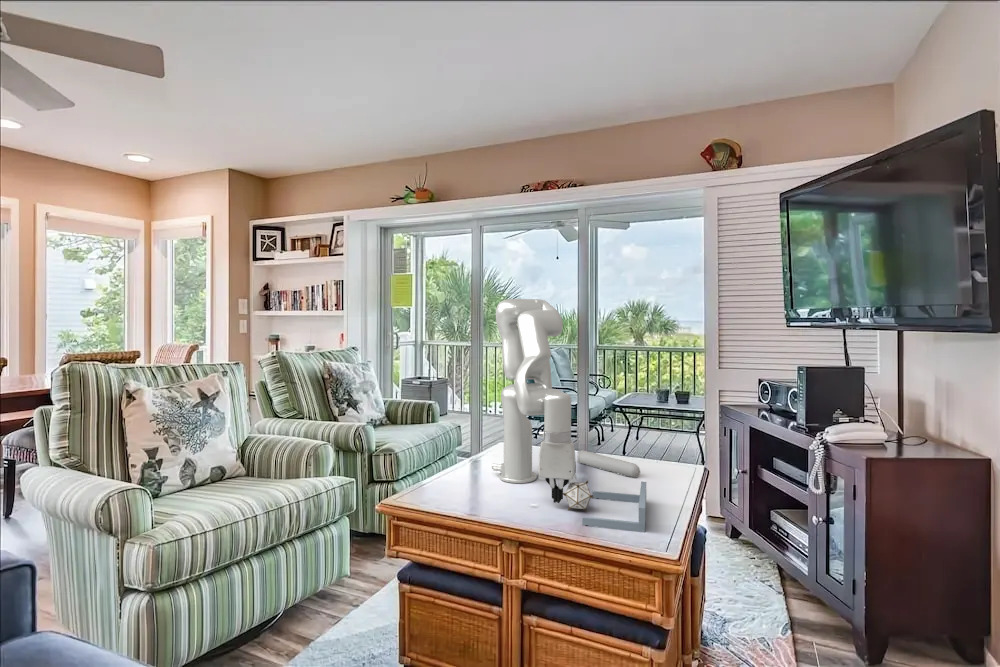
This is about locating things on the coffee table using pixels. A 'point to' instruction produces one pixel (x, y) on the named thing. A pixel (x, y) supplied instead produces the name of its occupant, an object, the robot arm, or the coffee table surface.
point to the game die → (578, 495)
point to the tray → (620, 523)
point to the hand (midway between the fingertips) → (557, 501)
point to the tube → (609, 464)
